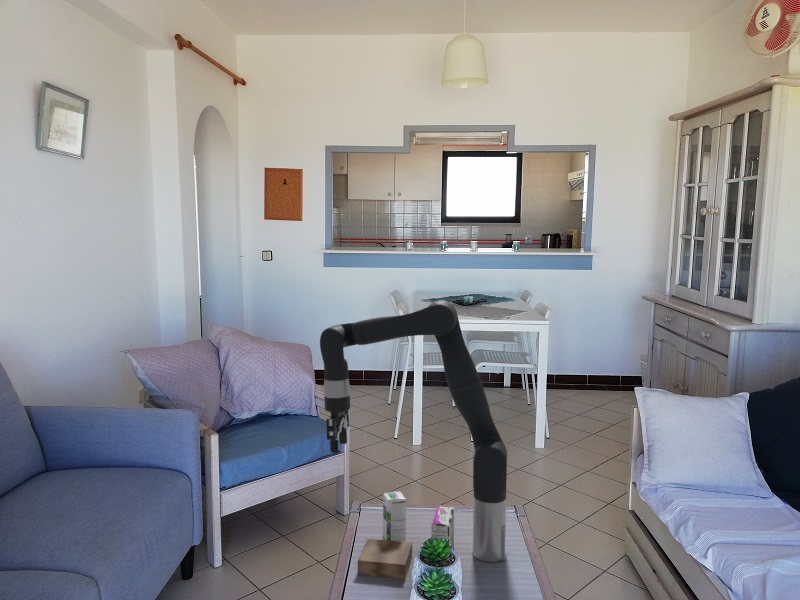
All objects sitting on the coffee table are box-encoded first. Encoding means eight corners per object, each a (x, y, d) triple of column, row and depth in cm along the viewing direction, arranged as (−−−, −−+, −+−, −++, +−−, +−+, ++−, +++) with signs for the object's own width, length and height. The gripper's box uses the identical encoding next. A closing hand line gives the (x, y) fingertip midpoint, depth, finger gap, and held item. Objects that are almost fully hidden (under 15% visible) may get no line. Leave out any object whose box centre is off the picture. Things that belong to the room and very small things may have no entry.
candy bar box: (436, 561, 174) (437, 505, 172) (454, 562, 173) (454, 506, 171) (430, 582, 163) (431, 523, 161) (449, 585, 162) (450, 525, 160)
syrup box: (382, 539, 186) (382, 492, 185) (400, 536, 188) (400, 490, 186) (387, 548, 181) (387, 500, 179) (406, 545, 182) (406, 498, 181)
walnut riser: (412, 556, 176) (412, 542, 176) (405, 579, 164) (405, 564, 164) (367, 551, 178) (367, 538, 178) (357, 574, 167) (357, 560, 166)
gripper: (342, 399, 173) (344, 456, 175) (356, 388, 187) (358, 440, 188) (316, 399, 175) (319, 455, 176) (332, 388, 189) (334, 440, 190)
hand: (339, 447), depth 182 cm, fingers open, 8 cm apart
